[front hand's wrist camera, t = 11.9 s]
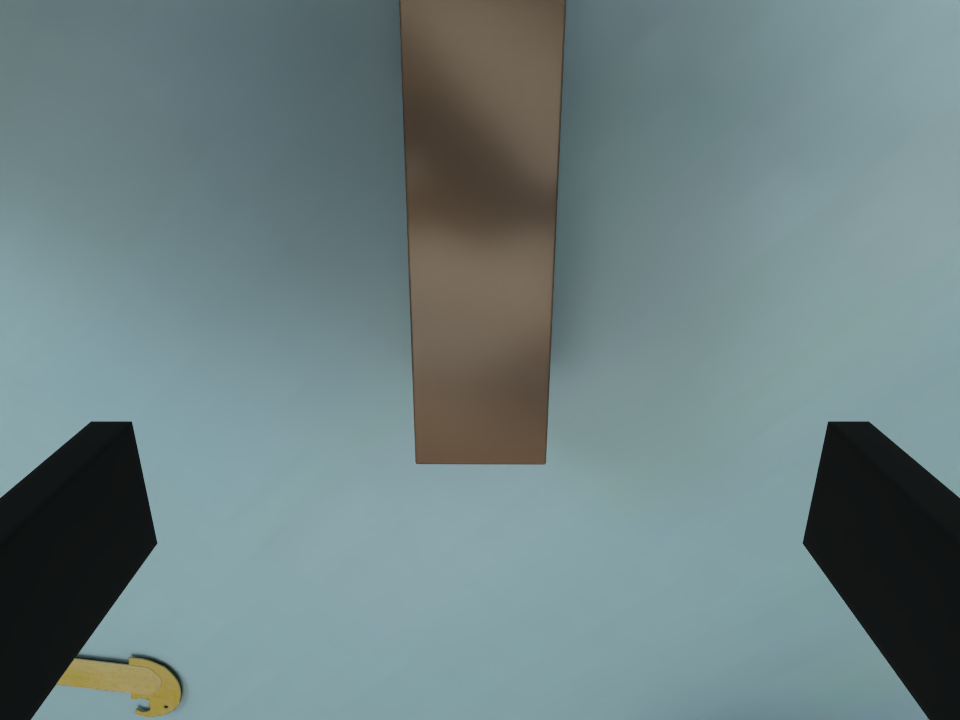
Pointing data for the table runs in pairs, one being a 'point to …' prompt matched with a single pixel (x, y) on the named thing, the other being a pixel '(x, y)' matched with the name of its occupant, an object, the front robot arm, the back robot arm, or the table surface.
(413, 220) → the post
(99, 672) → the bottle opener
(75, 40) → the table surface
